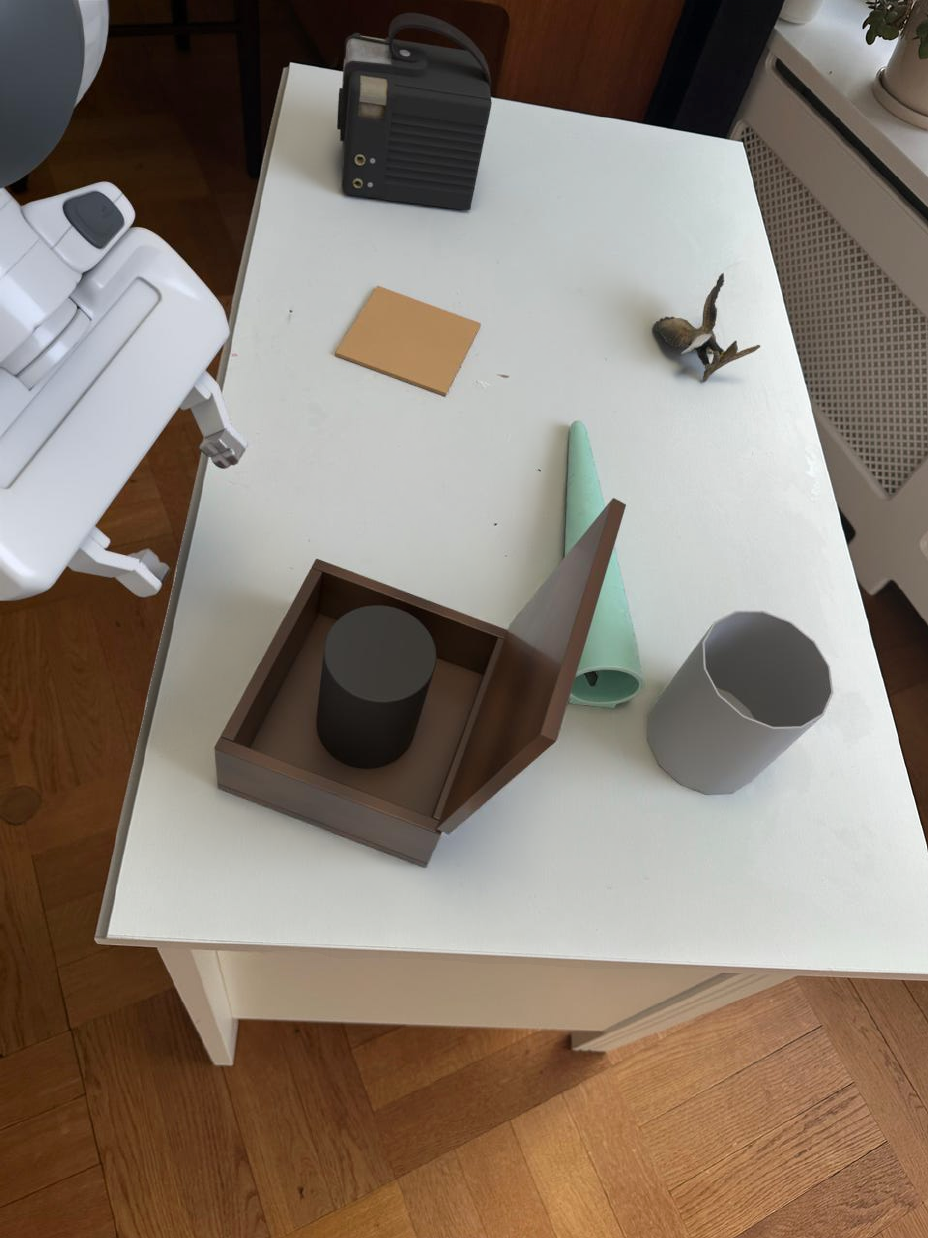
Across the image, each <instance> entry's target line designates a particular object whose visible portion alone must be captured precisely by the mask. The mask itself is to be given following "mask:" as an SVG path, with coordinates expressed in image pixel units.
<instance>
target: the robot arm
mask: <svg viewBox="0 0 928 1238" xmlns="http://www.w3.org/2000/svg"><path fill="white" fill-rule="evenodd" d="M109 29H110V0H0V601H2V602H3V601H4V602H7V601H10V602H11V601H21V600H25V599H27V598H32V597H34V596H37V595H40V594H42V593H44V592H46V591H48V590H49V589H51V588H52V587H53V586H54V585H55V584H56V582H57V580H58V579H59V578H60V576H61V575H62V574H63V572H64V571H65V569H66V568H67V567H68V568H69V569H70V570H71V571H73V572H78V573H83V574H88V575H94V576H100V577H106V578H111V579H112V578H115V579H116V581H118V582H120V583H121V585H123V586H124V587H125V588H126V589H128V590H129V591H130V592H131V593H132V594H134V595H135V596H137V597H140V598H147V597H151V596H156V595H157V594H158V592H159V591H160V590H161V588H162V587H163V584H164V583H165V581H166V579H167V578H168V576H169V575H170V572H171V568H170V566H169V564H167V563H166V562H162V561H161V560H160V558H159V556H158V555H157V554H156V553H155V552H154V551H153V550H151V549H150V548H149V547H147V548H143V549H141V550H140V551H138V552H132V553H129V554H127V555H125V554H121V553H118V552H113V551H109V550H106V549H107V548H108V547H109V545H110V544H111V539H110V538H109V537H108V536H107V535H106V534H104V532H102V531H101V530H100V529H99V528H98V527H97V526H96V525H97V524H98V523H99V521H100V520H101V519H102V517H103V516H104V514H106V511H107V510H108V509H109V507H110V506H111V504H112V503H113V501H114V500H115V499H116V497H117V496H118V494H119V493H120V491H121V490H122V489H123V488H124V486H125V484H126V483H127V482H128V480H129V479H130V478H131V476H132V475H133V473H134V472H135V470H136V469H137V468H138V466H139V465H140V463H141V462H142V460H143V459H144V458H145V456H146V455H147V453H148V452H149V451H150V449H151V448H152V447H153V445H154V443H155V442H156V440H157V439H158V438H159V436H160V435H161V434H162V432H163V431H164V429H165V428H166V426H167V425H168V424H169V422H170V421H171V420H172V418H173V417H174V415H175V414H176V412H177V411H178V409H181V411H186V410H188V409H190V410H191V413H192V415H193V417H194V419H195V422H196V424H197V426H198V428H199V430H200V432H201V434H202V436H203V440H202V441H201V443H200V445H199V446H198V449H199V450H200V451H201V452H202V453H203V455H204V456H205V457H208V458H210V460H211V462H212V464H214V465H215V467H217V468H219V469H221V470H226V469H229V468H230V467H231V466H234V467H235V466H236V465H238V463H239V462H240V460H241V458H242V457H243V455H244V454H245V452H246V451H247V449H248V448H249V441H248V439H247V438H245V436H244V435H243V434H242V433H241V432H240V431H239V430H238V428H236V426H234V425H233V424H232V422H231V416H230V414H229V410H228V408H227V405H226V402H225V398H224V396H223V393H222V390H221V387H220V384H219V383H218V382H217V381H216V380H215V379H214V378H213V376H212V375H211V374H210V373H209V372H208V371H207V368H208V367H209V366H210V364H211V363H212V361H213V360H214V358H215V357H216V356H217V355H218V353H219V351H220V350H221V348H222V347H223V346H224V345H225V343H226V341H227V340H228V339H229V337H230V335H231V331H230V325H229V322H228V318H227V315H226V311H225V309H224V307H223V305H222V303H220V301H219V300H218V298H217V297H216V296H215V294H214V293H213V292H212V291H211V289H210V288H209V287H208V286H207V285H206V284H205V282H204V281H203V280H202V279H201V278H200V276H199V275H198V274H197V273H196V272H195V271H194V270H193V268H191V266H189V265H188V263H187V262H186V261H185V260H184V259H183V257H181V255H179V254H178V252H177V251H176V250H175V249H174V248H173V247H171V245H170V244H169V243H168V242H167V241H165V240H164V239H163V238H162V237H161V236H160V235H158V234H157V233H155V232H153V231H151V230H149V229H147V228H144V227H139V226H133V227H132V225H133V223H134V221H135V219H136V211H135V209H134V207H133V205H132V203H131V202H130V201H129V200H128V197H126V196H125V194H124V193H123V192H122V191H121V190H120V189H119V188H118V186H116V185H115V184H113V183H112V182H109V181H100V182H95V183H92V184H89V185H85V186H83V187H80V188H76V189H73V190H69V191H67V192H64V193H60V194H57V195H56V194H55V195H53V196H50V197H45V198H42V199H37V200H34V201H30V202H28V203H26V204H24V205H21V204H20V203H19V202H18V201H17V200H16V199H15V198H14V197H13V196H12V194H10V192H8V190H7V189H6V187H8V186H10V185H12V184H14V183H16V182H18V181H19V180H21V179H22V178H25V176H27V175H28V174H31V172H33V170H35V169H36V168H37V167H38V166H39V165H41V164H42V163H43V162H44V161H45V160H46V159H47V157H48V156H49V155H50V154H51V153H52V152H53V151H54V149H55V148H56V146H57V145H58V144H59V142H60V141H61V139H62V137H63V135H64V133H65V132H66V129H67V127H68V126H69V124H70V121H71V118H72V115H73V114H74V110H75V108H76V106H78V104H79V103H80V101H81V100H82V99H83V97H84V95H85V94H86V93H87V91H88V89H89V88H90V87H91V85H92V83H93V82H94V80H95V78H96V77H97V74H98V73H99V72H98V71H99V70H100V67H101V65H102V62H103V58H104V56H105V55H104V54H105V53H106V46H107V42H108V35H109Z"/></svg>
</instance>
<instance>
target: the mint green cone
mask: <svg viewBox="0 0 928 1238" xmlns="http://www.w3.org/2000/svg"><path fill="white" fill-rule="evenodd" d="M568 438H569V440H568V458H567V459H568V460H567V483H566V510H565V511H566V512H565V542H564V557H565V556H566V555H567V554H568V553H569V551H570V550H571V549H572V548H573V547H574V545H575V544H576V543H577V542H578V540H579V539H580V538H581V537H582V535H583V534H584V533H585V532H586V531H587V529H588V528H589V527H590V526H591V524H592V523H593V522H594V521H595V519H596V518H597V517H598V516H599V515H600V513H601V512H602V511H603V510H604V508H605V507H606V504H605V499H604V496H603V491H602V487H601V483H600V479H599V475H598V471H597V466H596V463H595V462H596V461H595V458H594V454H593V450H592V446H591V445H592V444H591V442H590V438H589V434H588V431H587V427H586V424H585V423H584V422H583V421H581V420H574V421H573V422H572V423H571V424H570V427H569V437H568ZM633 621H634V620H633V618H632V613H631V609H630V605H629V600H628V596H627V592H626V587H625V583H624V579H623V575H622V571H621V566H620V562H619V557H618V554H617V550H616V546H615V545H614V548H613V551H612V555H611V558H610V562H609V565H608V568H607V572H606V575H605V579H604V582H603V585H602V589H601V592H600V595H599V599H598V602H597V606H596V609H595V612H594V616H593V619H592V623H591V626H590V629H589V633H588V636H587V640H586V643H585V646H584V650H583V653H582V657H581V660H580V663H579V667H578V670H577V673H576V677H575V680H574V684H573V687H572V690H571V694H570V697H569V701H568V703H569V704H573V705H580V706H591V707H599V708H608V709H609V708H611V709H613V708H615V707H616V706H617V705H618V704H622V703H625V702H628V701H630V700H632V699H634V698H636V697H638V696H639V695H640V694H641V693H642V692H643V691H644V689H645V678H644V673H643V669H642V668H643V667H642V662H641V657H640V651H639V645H638V640H637V635H636V631H635V626H634V622H633ZM590 672H595V674H596V676H597V680H596V681H595V683H594V685H591V684H589V682H588V678H587V677H586V675H585V674H587V673H590Z"/></svg>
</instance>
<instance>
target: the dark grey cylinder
mask: <svg viewBox="0 0 928 1238" xmlns="http://www.w3.org/2000/svg"><path fill="white" fill-rule="evenodd" d="M435 666H436V648H435V644H434V641H433V639H432V637H431V635H430V633H429V632H428V630H427V629H426V628H425V627H424V625H423V624H422V623H421V622H420V621H419V620H417V619H416V618H415V617H413V616H412V615H410V614H408V613H407V612H404V611H402V610H400V609H397V608H393V607H389V606H380V605H376V606H365V607H361V608H358V609H355V610H352V611H350V612H349V613H347V614H345V615H344V616H342V617H341V618H340V619H339V620H338V621H336V622H335V624H334V625H333V626H332V627H331V629H330V631H329V632H328V634H327V637H326V640H325V644H324V652H323V661H322V671H321V680H320V689H319V699H318V708H317V718H316V727H317V732H318V735H319V738H320V740H321V742H322V744H323V746H324V747H325V748H326V750H327V751H328V752H329V753H330V754H331V755H332V756H334V757H335V758H336V759H338V760H339V761H341V762H343V763H345V764H347V765H350V766H353V767H358V768H377V767H382V766H385V765H388V764H390V763H392V762H394V761H395V760H397V759H398V758H400V757H401V756H402V755H403V754H404V753H405V752H406V751H407V749H408V748H409V746H410V745H411V743H412V741H413V738H414V735H415V732H416V728H417V725H418V722H419V719H420V715H421V712H422V709H423V706H424V702H425V699H426V696H427V693H428V689H429V686H430V683H431V680H432V676H433V673H434V670H435Z"/></svg>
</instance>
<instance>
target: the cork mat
mask: <svg viewBox="0 0 928 1238" xmlns="http://www.w3.org/2000/svg"><path fill="white" fill-rule="evenodd" d="M481 326H482V323H481V322H479V321H475V320H473V319H470V318H468V317H464V316H462V315H459V314H457V313H453V312H451V311H448V310H446V309H443V308H440V307H438V306H436V305H431V304H429V303H426V302H423V301H421V300H418V299H415V298H412V297H410V296H407V295H404V294H402V293H399V292H396V291H394V290H391V289H388V288H385V287H383V286H380V285H376V287H375V289H374V290H373V292H372V294H371V295H370V296H369V299H368V300H367V301H366V302H365V305H364V306H363V308H362V310H361V311H360V313H359V314H358V316H357V317H356V319H355V321H354V322H353V324H352V326H351V327H350V329H349V330H348V331H347V333H346V335H345V336H344V338H343V339H342V340H341V343H340V344H339V346H338V348H337V349H336V351H335V354H334V356H335V357H337V358H340V359H343V360H346V361H349V362H351V363H354V364H355V365H359V366H361V367H365V368H367V369H370V370H373V371H375V372H378V373H381V374H384V375H386V376H389V377H391V378H394V379H397V380H400V381H402V382H405V383H408V384H411V385H413V386H417V387H419V388H422V389H424V390H427V391H429V392H432V393H435V394H437V395H440V396H443V397H446V396H447V394H448V393H449V390H450V388H451V386H452V384H453V383H454V380H455V378H456V377H457V374H458V372H459V370H460V369H461V366H462V364H463V362H464V360H465V358H466V356H467V354H468V352H469V350H470V348H471V346H472V345H473V342H474V340H475V338H476V336H477V334H478V332H479V330H480V329H481Z"/></svg>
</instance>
